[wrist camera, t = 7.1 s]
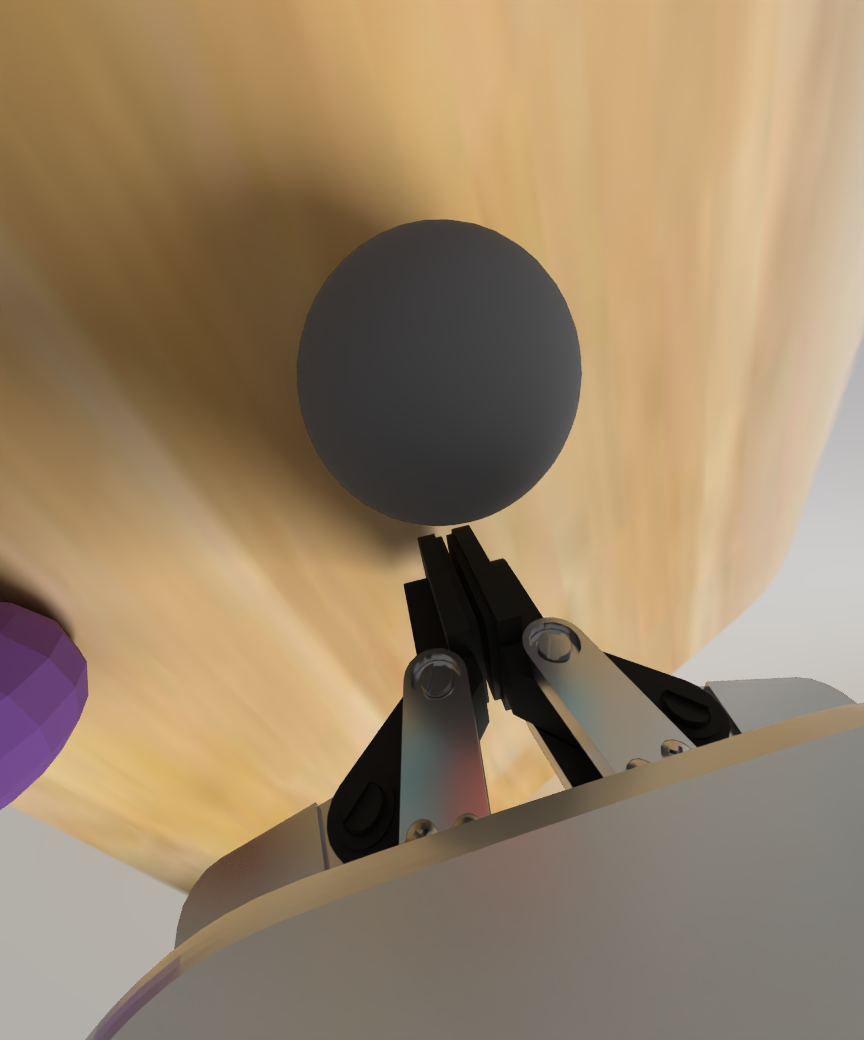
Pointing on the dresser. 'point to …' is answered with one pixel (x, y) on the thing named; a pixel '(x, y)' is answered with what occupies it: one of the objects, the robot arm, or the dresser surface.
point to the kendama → (35, 696)
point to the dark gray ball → (439, 372)
